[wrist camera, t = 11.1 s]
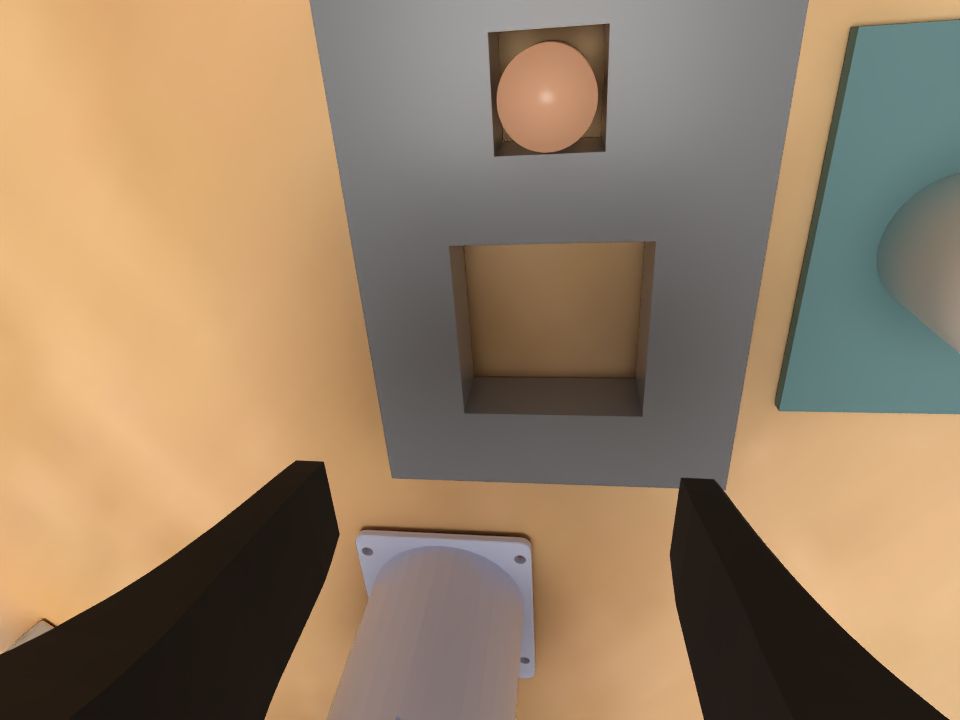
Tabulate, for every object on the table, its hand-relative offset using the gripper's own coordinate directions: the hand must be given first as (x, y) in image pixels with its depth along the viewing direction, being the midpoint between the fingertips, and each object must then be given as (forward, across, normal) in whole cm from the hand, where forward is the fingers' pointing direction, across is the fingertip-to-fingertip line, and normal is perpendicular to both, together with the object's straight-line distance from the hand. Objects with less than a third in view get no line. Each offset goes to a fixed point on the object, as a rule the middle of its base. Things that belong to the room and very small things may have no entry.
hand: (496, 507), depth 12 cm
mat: (+10, -13, -2) cm, 17 cm away
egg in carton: (+10, -1, -7) cm, 12 cm away
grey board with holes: (+10, -1, -2) cm, 11 cm away
